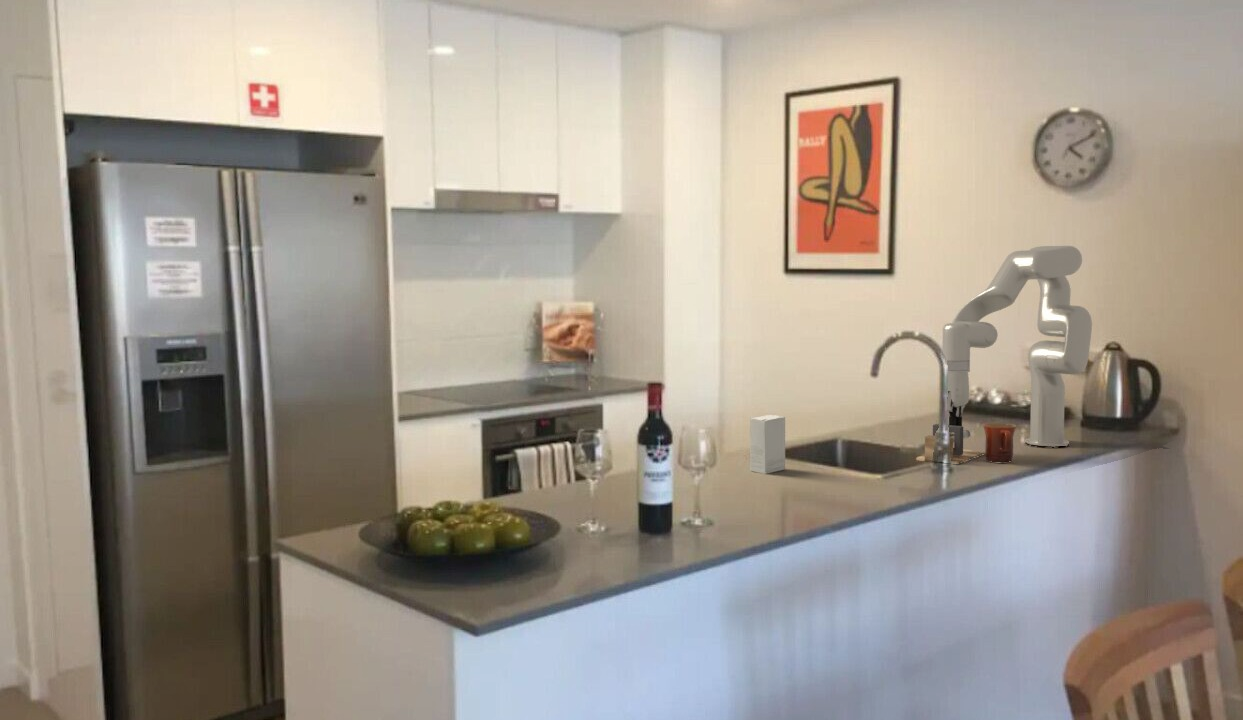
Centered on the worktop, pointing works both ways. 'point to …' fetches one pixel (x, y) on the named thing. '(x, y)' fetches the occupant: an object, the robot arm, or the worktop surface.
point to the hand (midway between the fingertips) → (955, 429)
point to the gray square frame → (957, 437)
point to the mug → (999, 441)
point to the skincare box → (767, 444)
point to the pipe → (965, 434)
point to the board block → (954, 458)
